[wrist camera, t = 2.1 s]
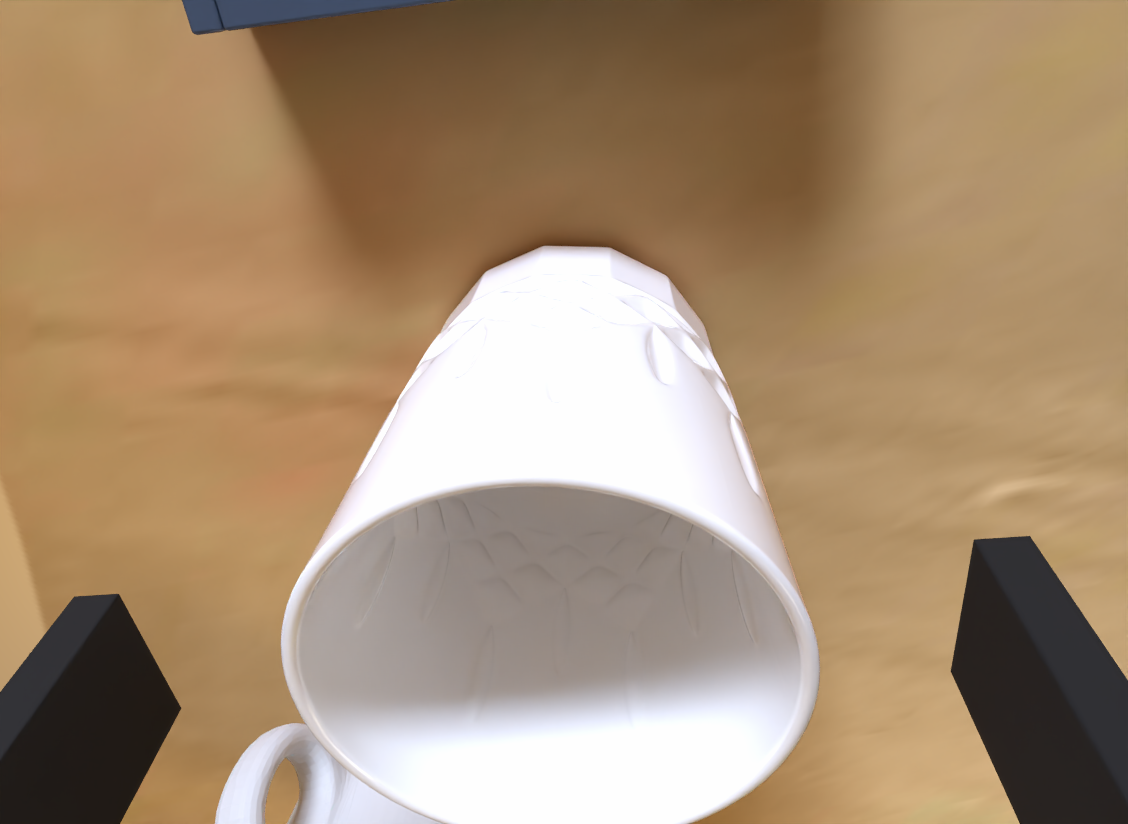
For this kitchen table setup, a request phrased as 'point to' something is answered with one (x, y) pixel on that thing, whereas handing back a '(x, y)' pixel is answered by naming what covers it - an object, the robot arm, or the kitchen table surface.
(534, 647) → the white cup
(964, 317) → the kitchen table surface
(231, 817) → the cup
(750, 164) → the kitchen table surface
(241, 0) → the tray
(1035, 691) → the robot arm
